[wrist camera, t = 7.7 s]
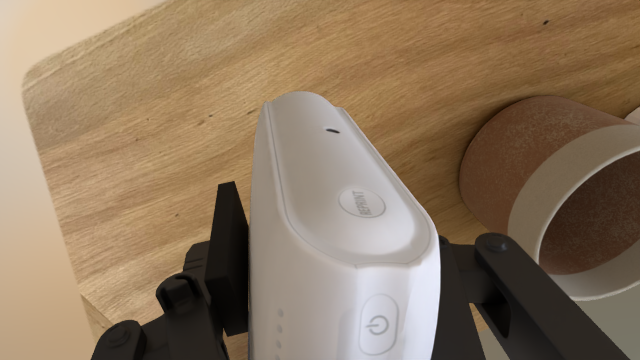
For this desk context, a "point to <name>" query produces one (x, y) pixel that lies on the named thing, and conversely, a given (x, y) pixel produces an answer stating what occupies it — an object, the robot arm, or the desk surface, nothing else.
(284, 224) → the photo printer
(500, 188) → the planter
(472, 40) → the desk surface
